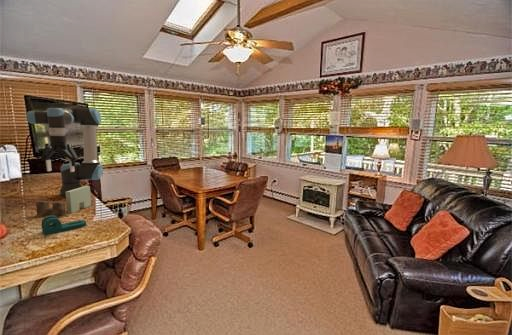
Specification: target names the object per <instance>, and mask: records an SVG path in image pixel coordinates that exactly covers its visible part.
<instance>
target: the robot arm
mask: <svg viewBox="0 0 512 335" xmlns="http://www.w3.org/2000/svg"><path fill="white" fill-rule="evenodd" d="M25 115H26V121H27V122H28V123H29V124H34V125H48V134H49V142H45V144H44V149H43V151H42V154H41V156H40V159H41V160H43V161H44V165H45V166H46V171H47V172H51V171H53V170H52V160H51V158H52V156H53V155H54V154H55V153H56V152H62V153H63V154H64V155H65V156H66V157H67V158H68V159H69V163H65V164H62V165H61V166H60V176H61V187H60V190H59V195H60V196H61V197H66V193H65V192H67V191H70V190H73V189H77V188H80V187H83V186H84V185H82V181H91V180H92V181H97V180H100V179H101V178H102V176H103V172H104V167H103V165H102V164H101V162H100V160H98V143H97V142H98V140H97V139H98V138H97V137H98V136H97V129H98V128H99V126H100V124H102V116H101V113H100V111H99V109H98V108H96V107H95V108H94V107H65V108H59V107H48V108H47V109H46V110H29V111H27V113H26V114H25ZM72 124H80V125H79V126H80V127H81V128H82V138H83V139H82V140H83V141H82V143H83V161H82V162H81V164H80V162H76V161H77V160H79V157H78V155H77V153H76V151H75V150H74V148H73V145H72V143H66V142H67V136H66V127H65V126H67V125H72Z"/></svg>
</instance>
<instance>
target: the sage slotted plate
mask: <svg viewBox="0 0 512 335" xmlns="http://www.w3.org/2000/svg"><path fill="white" fill-rule="evenodd" d="M82 186H83V187H80V188H77V189H73V190H70V191H67V192H65V193H66V196H65V201H66V202H65V206H66V213H67V214H73V213H76V212H78V211H80V208H81V209H86V208H87V207H91V206H92V196H91V186H90V185H82Z"/></svg>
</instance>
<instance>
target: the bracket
mask: <svg viewBox="0 0 512 335" xmlns="http://www.w3.org/2000/svg"><path fill="white" fill-rule="evenodd" d="M85 227H87V221H86V220H84V219H79V220H74V221H70V222H64V223H62V221H61V220H60V219H59V218H58V216H53V215H50V216H45V217H44V218H42V220H41V230H42V234H43V235H44V236H45V237H47V236H50V235H55V234H56V235H57V234H59V233H65V232H69V231H72V230H77V229H82V228H85Z"/></svg>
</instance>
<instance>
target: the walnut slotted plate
mask: <svg viewBox="0 0 512 335" xmlns="http://www.w3.org/2000/svg"><path fill="white" fill-rule="evenodd" d="M35 206H36V207H35V208H36V215H37V216H45V217H46V216H50V215H53V216H56V217H60V218H61V217H62V218H63V217H65V216H66V215H67V214H66V213H67V211H66V202H65V201H53V202H51V207H50V202H49V200H37V201H35Z"/></svg>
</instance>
